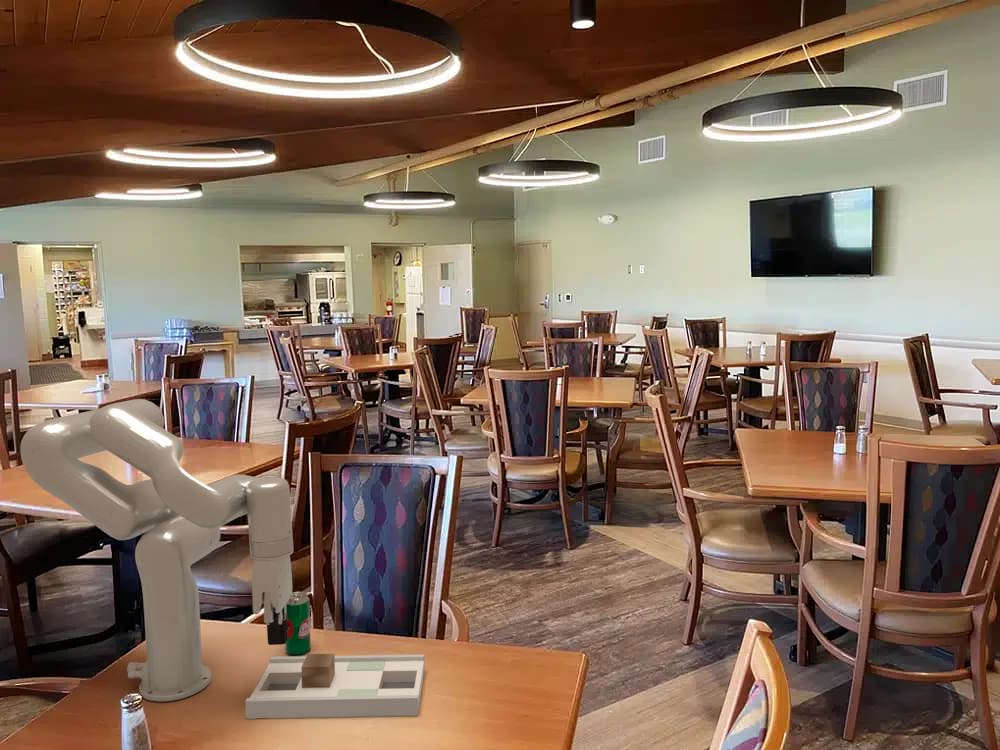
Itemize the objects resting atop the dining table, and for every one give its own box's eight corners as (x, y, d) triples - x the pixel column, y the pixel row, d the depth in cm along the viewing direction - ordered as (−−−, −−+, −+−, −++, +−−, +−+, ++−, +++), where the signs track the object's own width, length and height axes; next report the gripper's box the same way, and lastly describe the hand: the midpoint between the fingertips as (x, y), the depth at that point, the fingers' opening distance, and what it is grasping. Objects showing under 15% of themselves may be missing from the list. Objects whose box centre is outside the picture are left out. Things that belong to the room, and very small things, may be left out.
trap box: (246, 718, 130) (245, 701, 129) (271, 672, 146) (271, 656, 145) (417, 715, 130) (417, 698, 130) (424, 670, 146) (424, 654, 146)
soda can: (304, 657, 152) (302, 601, 150) (281, 655, 153) (279, 599, 151) (314, 646, 157) (313, 591, 155) (292, 644, 158) (291, 590, 156)
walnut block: (302, 688, 135) (301, 667, 135) (308, 674, 140) (307, 654, 140) (329, 687, 135) (328, 666, 135) (334, 673, 140) (334, 653, 140)
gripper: (262, 534, 142) (269, 626, 144) (237, 561, 127) (244, 663, 129) (302, 532, 142) (307, 624, 144) (281, 559, 127) (287, 661, 129)
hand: (277, 642), depth 136 cm, fingers closed
